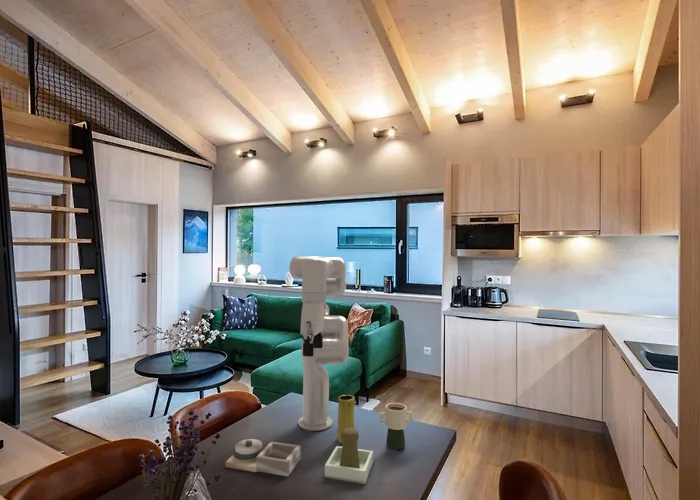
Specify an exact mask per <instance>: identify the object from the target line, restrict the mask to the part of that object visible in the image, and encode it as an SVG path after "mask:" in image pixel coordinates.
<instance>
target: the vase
mask: <svg viewBox="0 0 700 500" xmlns="http://www.w3.org/2000/svg"><path fill="white" fill-rule="evenodd" d="M337 407H338V411H337V412H338V413H337V414H338V416H337V430H336V431H337V432H336V433H337V434H336V435H337V436H336V440H337V442H338V443H340V444H343V441H342V439H341V433H342V431H343V430H344V429H346V428H354V429H355V396H353V395H350V394H342V395H340V396H338V406H337Z"/></svg>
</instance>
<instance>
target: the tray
mask: <svg viewBox="0 0 700 500" xmlns="http://www.w3.org/2000/svg"><path fill="white" fill-rule="evenodd" d="M341 452H342V446H339V445H336V446H335V448H334V449H333V451H332V453H331V454H330V456H329V457H328V460H327V461H326V463H325V465H324V478H325V479H331V480H338V481H342V482H343V481H344V482H351V483H354V484H355V483H356V484H361V485H362V484H363V485H366V484H367V480H368V477H369V475H370V472H371V470H372V467H373V464H374V450H370V449H369V450H367V449H362V448H361V449H360V448H358V456H359V464H360V469H357V468H351V467H344V466H340V459H341Z"/></svg>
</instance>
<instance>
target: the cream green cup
mask: <svg viewBox="0 0 700 500" xmlns="http://www.w3.org/2000/svg"><path fill="white" fill-rule="evenodd" d="M384 416H385V417H384ZM408 416H409V418H408ZM383 418H385V419H383ZM412 421H413V412H412V411H408V408H407V406H406V405H405V404H403V403H401V402H389V403H387V404H386V405H385V411H384V412H383V411H382V412H379V422H380V423H385V425H386V428H387V432H386V433H387V434H386V443H385V444H386V445H387V447H389V448H391V449H395V450H401V449H403V448H404V447H405V446H406V439H405V431H404V429H406V428H407V425H408V423H410V422H411V423H412Z"/></svg>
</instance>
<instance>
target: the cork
mask: <svg viewBox="0 0 700 500" xmlns="http://www.w3.org/2000/svg"><path fill="white" fill-rule="evenodd" d="M359 435H360V434H359V431H358V430H357V429H356V428H355V427H354V428H346V429H344V430H343V431H342V433H341V439H342V441H343V443H342V446H341V447H342V452H341V459H340V466H344V467H351V468H357V469H360V464H359V456H358V449H359V448H358V440H359V439H360V438H359V437H360V436H359Z"/></svg>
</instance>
